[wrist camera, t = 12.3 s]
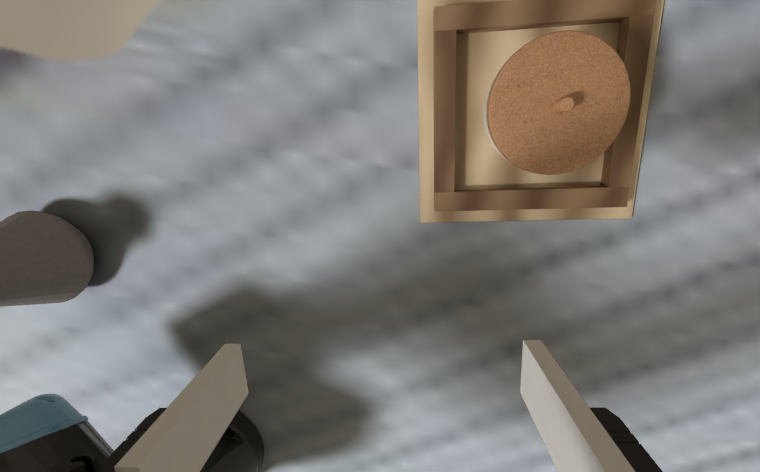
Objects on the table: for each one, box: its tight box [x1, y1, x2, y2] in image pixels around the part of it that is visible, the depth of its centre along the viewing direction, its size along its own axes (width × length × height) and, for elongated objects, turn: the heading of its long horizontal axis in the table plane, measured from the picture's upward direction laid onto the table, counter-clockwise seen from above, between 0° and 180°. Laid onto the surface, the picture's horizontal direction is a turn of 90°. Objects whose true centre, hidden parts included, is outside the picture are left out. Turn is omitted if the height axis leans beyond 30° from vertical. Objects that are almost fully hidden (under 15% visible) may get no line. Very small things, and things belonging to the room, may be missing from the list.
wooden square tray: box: [417, 0, 664, 223], centre depth 34 cm, size 22×22×2 cm
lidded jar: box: [483, 30, 631, 175], centre depth 30 cm, size 11×11×9 cm
